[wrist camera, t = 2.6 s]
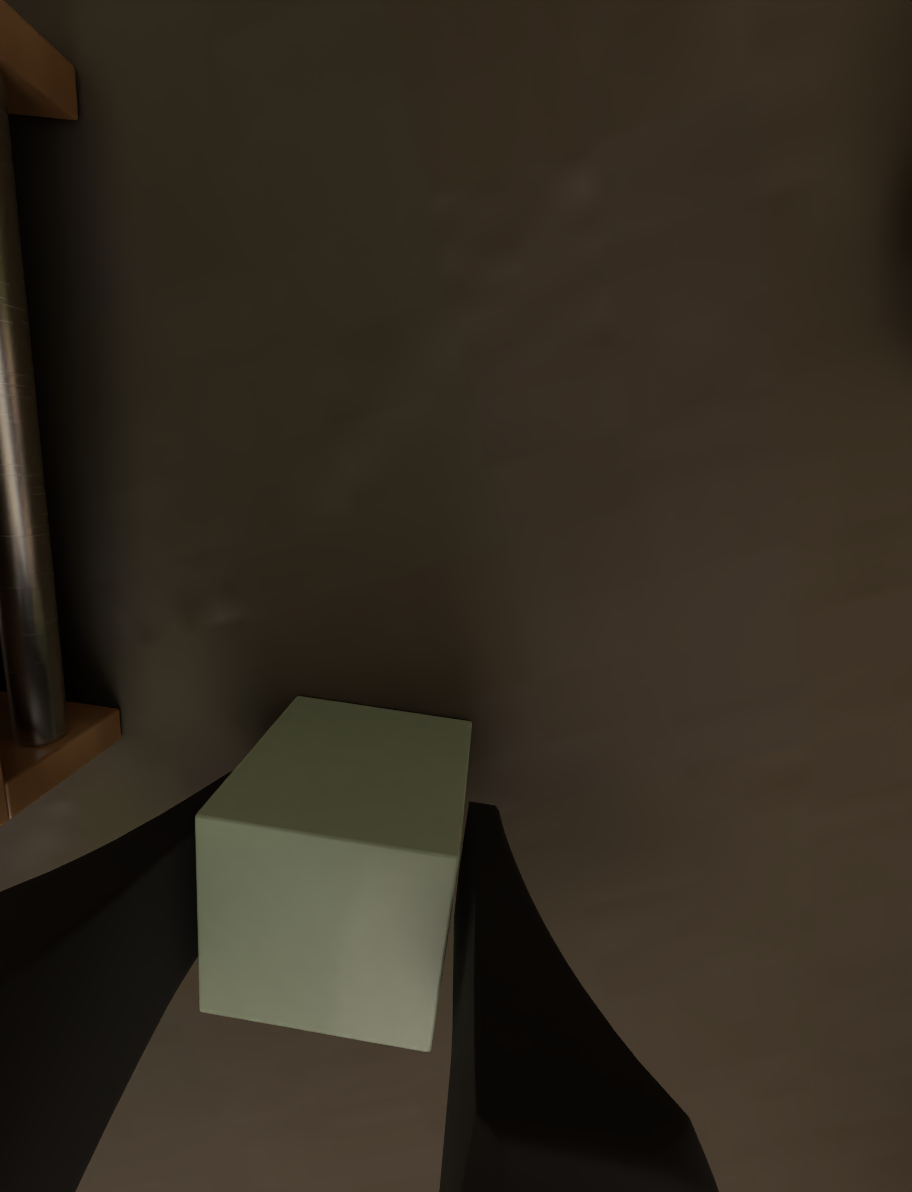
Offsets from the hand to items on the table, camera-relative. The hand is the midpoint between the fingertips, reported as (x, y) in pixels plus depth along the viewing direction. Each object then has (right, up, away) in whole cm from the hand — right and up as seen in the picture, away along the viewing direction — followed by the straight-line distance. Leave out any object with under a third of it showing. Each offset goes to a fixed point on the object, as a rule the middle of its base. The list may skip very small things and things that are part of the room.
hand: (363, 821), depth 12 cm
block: (0, 0, +1) cm, 1 cm away
